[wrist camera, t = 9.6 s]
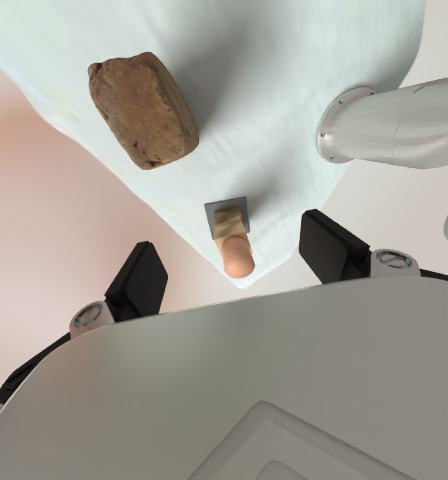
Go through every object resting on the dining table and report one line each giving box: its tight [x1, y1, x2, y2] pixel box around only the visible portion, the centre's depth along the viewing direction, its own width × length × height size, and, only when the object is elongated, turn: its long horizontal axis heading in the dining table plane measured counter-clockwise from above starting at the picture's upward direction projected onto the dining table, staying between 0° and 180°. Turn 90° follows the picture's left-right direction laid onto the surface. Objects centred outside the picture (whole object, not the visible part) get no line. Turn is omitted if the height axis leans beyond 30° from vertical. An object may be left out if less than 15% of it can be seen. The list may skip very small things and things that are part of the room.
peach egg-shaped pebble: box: [222, 235, 255, 278], centre depth 30 cm, size 5×5×6 cm
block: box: [88, 52, 199, 170], centre depth 23 cm, size 11×8×20 cm
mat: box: [204, 197, 249, 240], centre depth 43 cm, size 10×10×1 cm
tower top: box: [213, 216, 252, 258], centre depth 35 cm, size 6×6×6 cm
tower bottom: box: [214, 207, 243, 224], centre depth 40 cm, size 6×6×6 cm
